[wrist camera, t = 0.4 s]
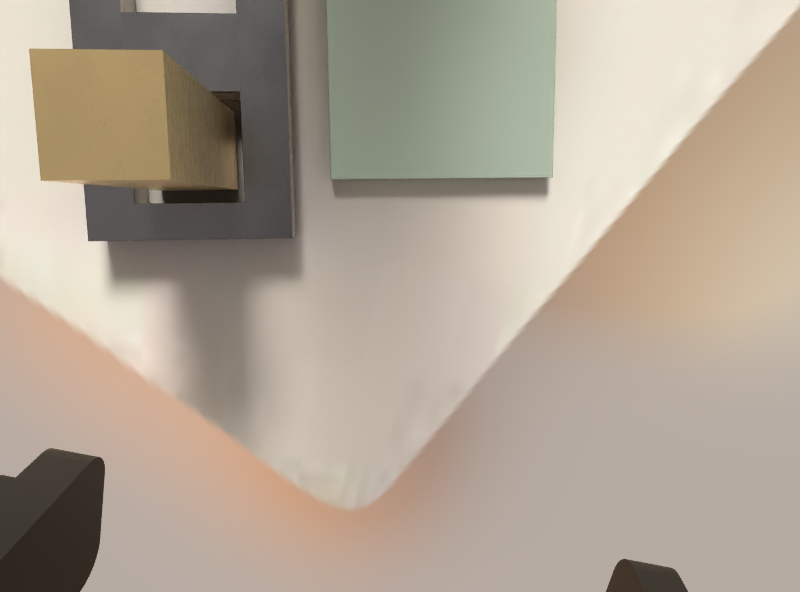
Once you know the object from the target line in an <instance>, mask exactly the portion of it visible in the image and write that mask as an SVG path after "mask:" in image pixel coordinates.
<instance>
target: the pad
mask: <svg viewBox="0 0 800 592" xmlns="http://www.w3.org/2000/svg"><path fill="white" fill-rule="evenodd" d="M326 3H327V41H328V79H329V118H330V156H331V180H341V179H468V178H550V177H553V137H554V91H555V46H556V0H326Z"/></svg>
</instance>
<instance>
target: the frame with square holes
mask: <svg viewBox="0 0 800 592" xmlns="http://www.w3.org/2000/svg"><path fill="white" fill-rule="evenodd" d="M69 4H70V17H71V29H72V42H73V49H105V50H163V51H164V52H165V53H167V54H168V55H169V56H170V57H171V58H172V59H173V60H175V61H176V62H177V63H178V64H179V65H180V66H181V67H183V68H184V69H185V70H186V71H187V72H188V73H189V74H191V75H192V76H193V77H194V78H195V79H196V80H197V81H199V82H200V83H201V84H202V85H203V86H204V87H205V88H206V89H208V90H209V91H210V92H211V93H212V94H213V95H214V96H216V97H217V98H218V99H240V100H241V122H242V145H243V167H244V189H245V203H164V204H149V201H148V189H138V188H126V187H113V186H101V185H89V184H84V193H85V205H86V218H87V230H88V241H128V240H190V239H253V238H293V237H295V236H296V220H295V191H294V161H293V132H292V103H291V73H290V44H289V15H288V0H236V11H237V14H218V13H151V12H136V3H135V0H69Z"/></svg>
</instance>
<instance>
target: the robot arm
mask: <svg viewBox="0 0 800 592" xmlns="http://www.w3.org/2000/svg"><path fill="white" fill-rule="evenodd" d="M104 475H105V465H104V461H103V459H102V458H100V457H95V456H90V455H85V454H79V453H74V452H69V451H64V450H58V449H53V448H50V449H48V450H45V451H44V452H43V453H42V454H41V455H39V456H38V457H37V459H35V460H34V461H33V462H32V463H31V464H30V465H29V466H28V467H27V468H26V469H24V470H23V471H22V472H21V473H20V474H19V475H18V476H17V477H16V478H14V477H9V476H4V475H0V592H80V591H81V589H82V588H83V586H84V585H85V583H86V581H87V579H88V577H89V575H90V573H91V571H92V568H93V566H94V563H95V560H96V557H97V553H98V549H99V543H100V531H101V518H102V504H103V490H104ZM606 592H688V591H687V589H686V587H685V585H684V584H683V582H682V580H681V578H680V576H679V575H678V573H677V572H676V571H675V570H674V569H672V568H669V567H663V566H659V565H654V564H648V563H642V562H638V561H632V560H627V559H622V560H620V561H619V562H618V563H617V565H616V567H615V569H614V571H613V574H612V577H611V579H610V582H609V585H608V588H607V591H606Z"/></svg>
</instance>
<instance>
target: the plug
mask: <svg viewBox="0 0 800 592" xmlns="http://www.w3.org/2000/svg"><path fill="white" fill-rule="evenodd" d="M29 52H30V64H31V75H32V86H33V97H34V109H35V120H36V131H37V142H38V154H39V165H40V176H41V181H53V182H65V183H77V184H89V185H101V186H113V187H126V188H138V189H150V190H238V177H237V155H236V134H235V113H234V112H233V111H232V110H230V109H229V108H228V107H227V106H226V105H225V104H224V103H222V102H221V101H220V100H219V99H218V98H217V97H216V96H214V95H213V94H212V93H211V92H210V91H209V90H208V89H206V88H205V87H204V86H203V85H202V84H201V83H200V82H199V81H197V80H196V79H195V78H194V77H193V76H192V75H191V74H189V73H188V72H187V71H186V70H185V69H184V68H183V67H181V66H180V65H179V64H178V63H177V62H176V61H175V60H173V59H172V58H171V57H170V56H169V55H168V54H167V53H165V52H164V51H163V50H105V49H29Z"/></svg>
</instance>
